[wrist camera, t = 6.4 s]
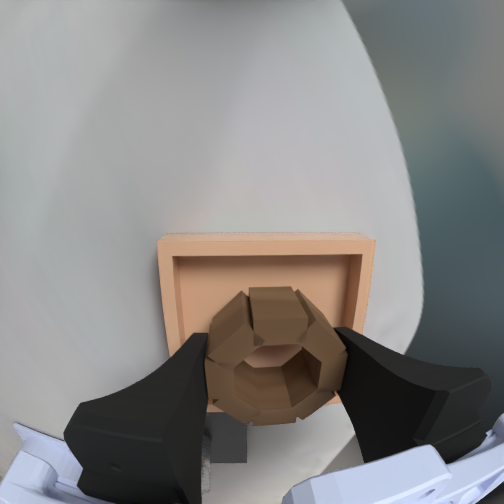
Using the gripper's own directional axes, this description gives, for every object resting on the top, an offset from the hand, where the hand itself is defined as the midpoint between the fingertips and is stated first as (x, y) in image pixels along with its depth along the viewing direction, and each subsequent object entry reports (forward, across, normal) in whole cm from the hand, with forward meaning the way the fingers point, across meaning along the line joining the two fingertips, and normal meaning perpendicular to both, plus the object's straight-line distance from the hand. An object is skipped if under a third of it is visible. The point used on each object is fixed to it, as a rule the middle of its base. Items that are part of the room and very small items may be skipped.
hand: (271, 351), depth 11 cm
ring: (+1, 0, 0) cm, 1 cm away
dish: (+3, 0, 0) cm, 3 cm away
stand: (+3, +4, +9) cm, 10 cm away
